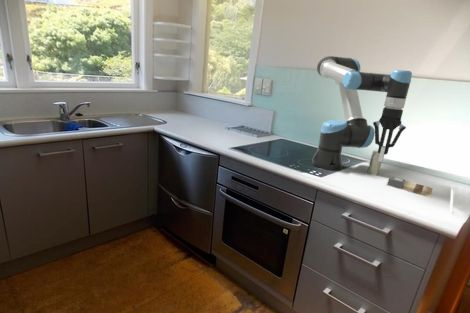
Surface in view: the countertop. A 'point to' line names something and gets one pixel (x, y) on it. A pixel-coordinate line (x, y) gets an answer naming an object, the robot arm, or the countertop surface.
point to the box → (374, 163)
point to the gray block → (396, 182)
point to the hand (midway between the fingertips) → (380, 160)
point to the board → (417, 189)
